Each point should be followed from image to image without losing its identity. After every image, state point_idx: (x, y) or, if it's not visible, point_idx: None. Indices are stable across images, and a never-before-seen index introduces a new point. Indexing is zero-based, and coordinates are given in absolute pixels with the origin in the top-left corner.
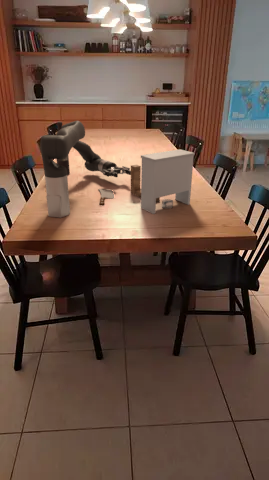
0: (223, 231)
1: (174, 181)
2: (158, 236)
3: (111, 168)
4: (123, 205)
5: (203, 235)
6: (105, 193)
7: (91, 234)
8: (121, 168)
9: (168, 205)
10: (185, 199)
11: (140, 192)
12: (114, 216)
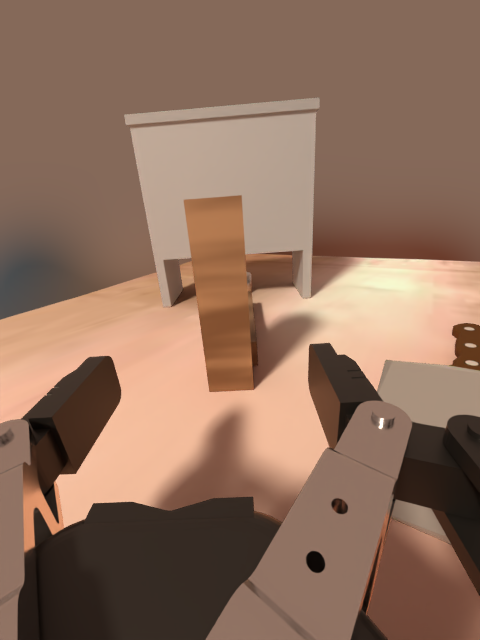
0: None
1: None
2: (337, 257)
3: (341, 630)
4: (362, 314)
5: (272, 255)
6: None
7: (475, 265)
8: (29, 496)
9: None
10: (179, 281)
11: (251, 319)
12: (411, 288)
